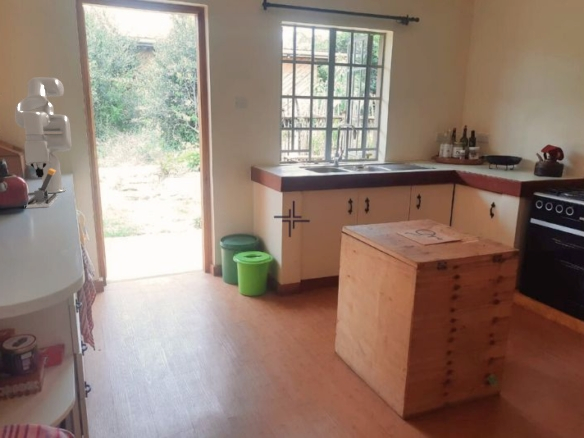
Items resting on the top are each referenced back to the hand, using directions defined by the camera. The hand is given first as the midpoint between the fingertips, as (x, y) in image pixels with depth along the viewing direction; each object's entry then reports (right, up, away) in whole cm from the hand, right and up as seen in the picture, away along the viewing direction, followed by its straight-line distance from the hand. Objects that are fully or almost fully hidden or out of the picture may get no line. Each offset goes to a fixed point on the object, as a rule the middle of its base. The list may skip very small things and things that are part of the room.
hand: (40, 177), depth 217 cm
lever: (0, -8, +2) cm, 8 cm away
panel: (0, -12, +3) cm, 13 cm away
